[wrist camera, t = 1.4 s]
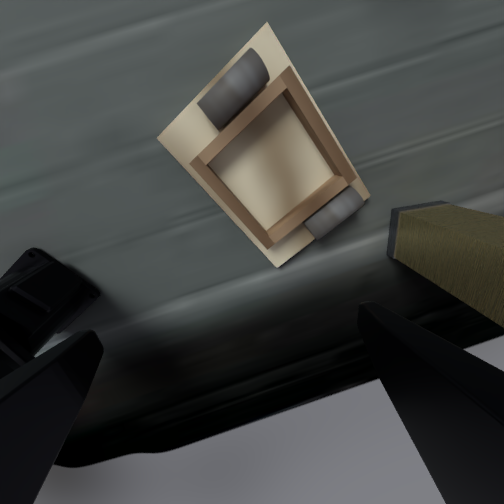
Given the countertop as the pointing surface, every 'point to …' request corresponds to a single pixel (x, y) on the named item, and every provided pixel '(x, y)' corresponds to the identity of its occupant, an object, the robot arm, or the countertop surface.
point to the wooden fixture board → (266, 151)
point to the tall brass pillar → (453, 251)
